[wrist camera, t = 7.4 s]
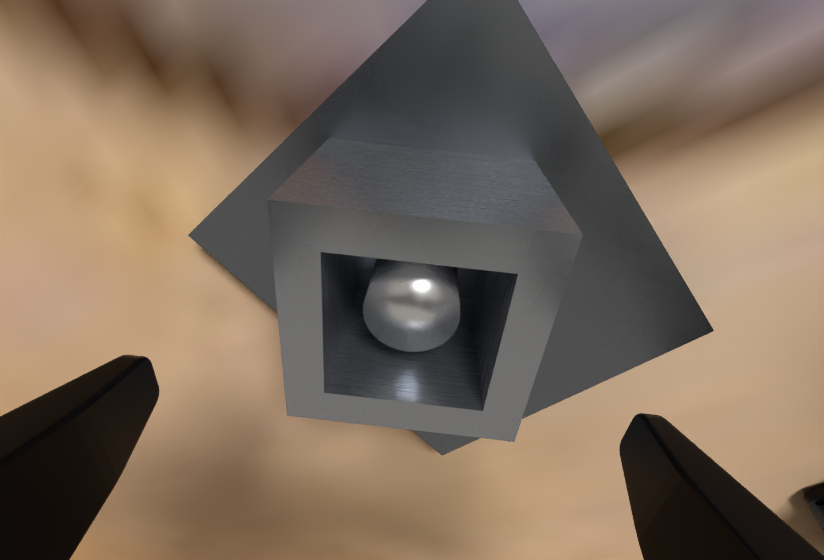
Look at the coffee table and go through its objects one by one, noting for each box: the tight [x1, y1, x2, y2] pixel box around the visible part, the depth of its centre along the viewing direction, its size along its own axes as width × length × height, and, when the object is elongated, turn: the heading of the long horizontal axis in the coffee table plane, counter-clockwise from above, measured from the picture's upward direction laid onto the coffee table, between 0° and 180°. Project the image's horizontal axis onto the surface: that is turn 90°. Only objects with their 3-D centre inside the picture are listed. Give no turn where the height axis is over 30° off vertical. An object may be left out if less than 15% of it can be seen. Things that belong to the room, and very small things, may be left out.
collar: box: [267, 138, 583, 442], centre depth 12 cm, size 6×6×5 cm
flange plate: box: [188, 0, 714, 455], centre depth 13 cm, size 14×12×5 cm
